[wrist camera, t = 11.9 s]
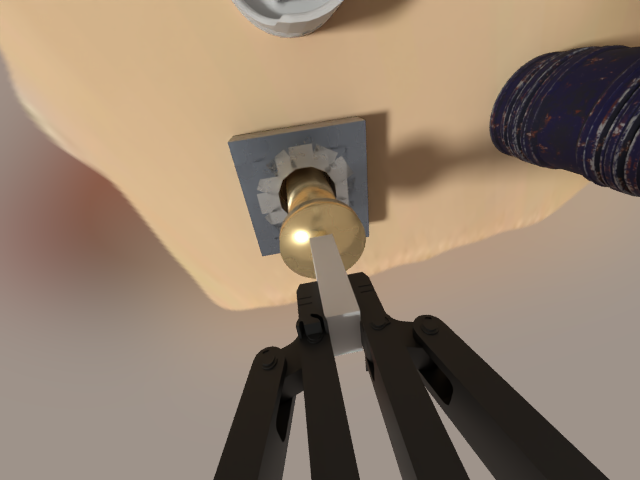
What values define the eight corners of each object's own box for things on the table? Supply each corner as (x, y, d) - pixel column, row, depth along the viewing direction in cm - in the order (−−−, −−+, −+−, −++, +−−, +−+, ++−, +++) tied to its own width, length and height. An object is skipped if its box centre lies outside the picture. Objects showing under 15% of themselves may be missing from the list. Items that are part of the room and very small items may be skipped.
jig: (232, 136, 24) (227, 142, 22) (356, 116, 25) (365, 120, 23) (263, 241, 31) (262, 256, 28) (361, 224, 31) (369, 236, 29)
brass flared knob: (284, 214, 29) (289, 285, 19) (272, 162, 26) (270, 214, 16) (336, 205, 30) (367, 270, 20) (330, 152, 26) (364, 197, 16)
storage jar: (572, 23, 24) (913, -46, 11) (589, 112, 28) (842, 137, 16) (474, 104, 26) (659, 124, 13) (504, 174, 31) (663, 239, 18)
